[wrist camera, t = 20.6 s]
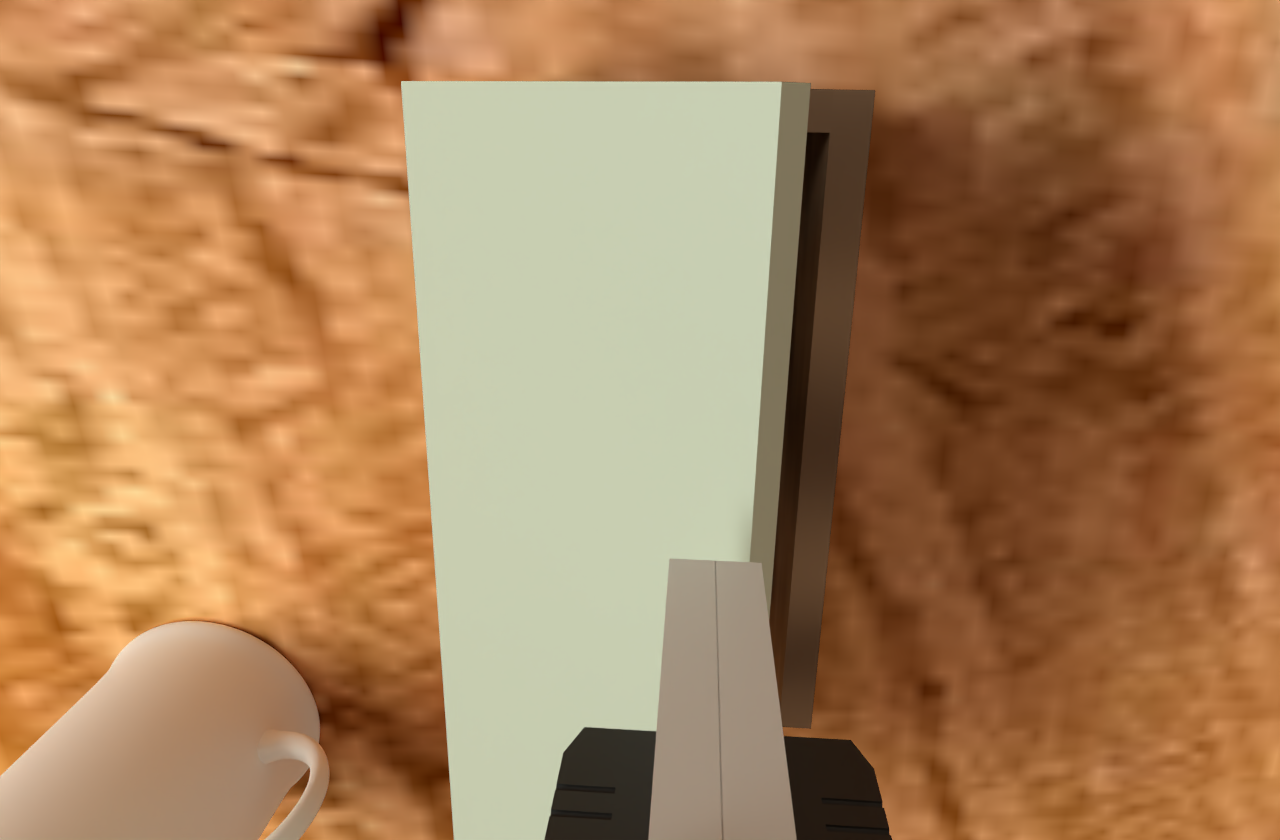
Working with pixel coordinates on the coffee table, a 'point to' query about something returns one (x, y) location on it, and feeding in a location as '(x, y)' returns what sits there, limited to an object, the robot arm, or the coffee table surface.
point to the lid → (591, 392)
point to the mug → (175, 747)
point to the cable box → (817, 385)
